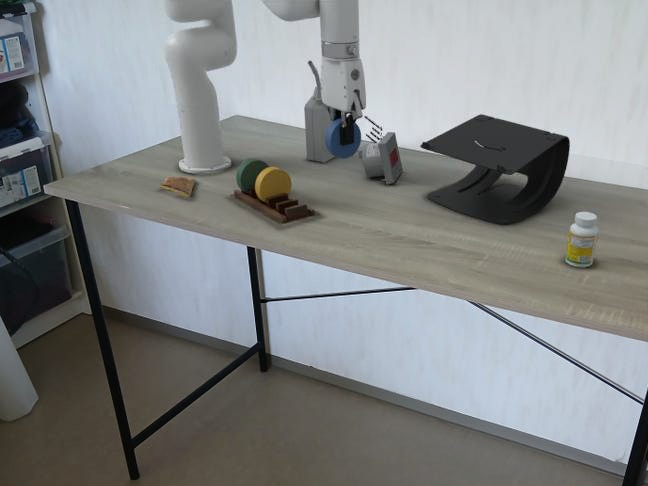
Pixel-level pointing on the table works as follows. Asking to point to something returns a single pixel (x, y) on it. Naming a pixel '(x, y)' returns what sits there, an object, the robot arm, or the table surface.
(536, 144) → the laptop stand
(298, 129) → the table surface
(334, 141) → the blue disc
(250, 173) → the green disc
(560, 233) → the table surface
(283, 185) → the mustard disc
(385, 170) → the voltmeter
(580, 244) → the supplement bottle
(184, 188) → the shard
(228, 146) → the table surface
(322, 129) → the gas can
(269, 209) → the disc rack
